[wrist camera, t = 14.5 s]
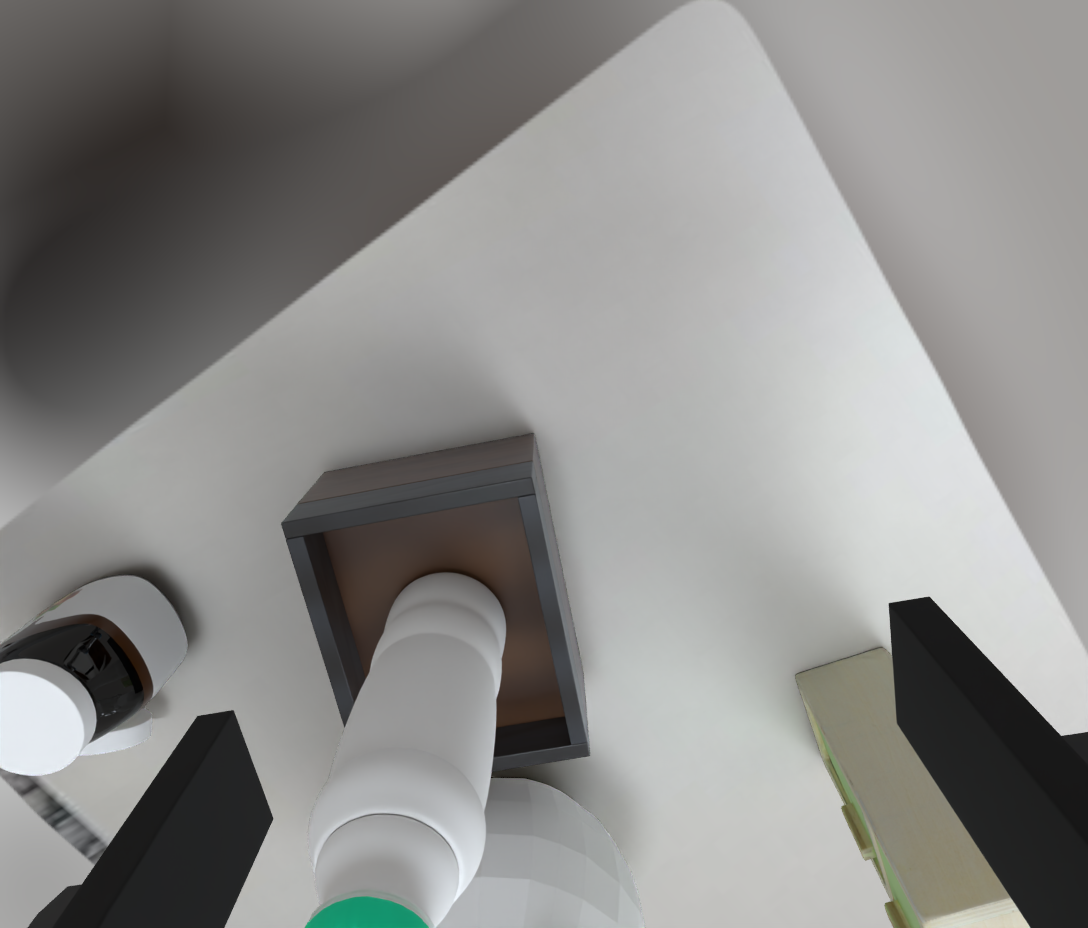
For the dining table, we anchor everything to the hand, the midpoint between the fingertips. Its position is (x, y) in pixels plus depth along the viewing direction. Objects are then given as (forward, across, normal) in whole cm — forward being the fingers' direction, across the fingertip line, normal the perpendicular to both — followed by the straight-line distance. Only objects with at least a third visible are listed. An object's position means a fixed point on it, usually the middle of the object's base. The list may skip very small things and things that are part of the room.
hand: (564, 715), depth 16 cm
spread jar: (+36, -33, -14) cm, 51 cm away
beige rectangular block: (+36, +16, -28) cm, 48 cm away
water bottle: (+30, -9, -13) cm, 34 cm away
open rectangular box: (+36, -9, -13) cm, 39 cm away
